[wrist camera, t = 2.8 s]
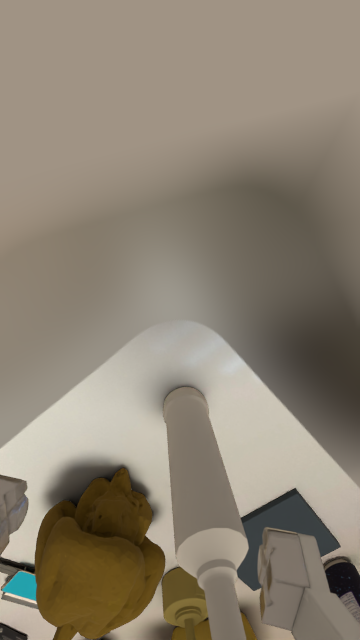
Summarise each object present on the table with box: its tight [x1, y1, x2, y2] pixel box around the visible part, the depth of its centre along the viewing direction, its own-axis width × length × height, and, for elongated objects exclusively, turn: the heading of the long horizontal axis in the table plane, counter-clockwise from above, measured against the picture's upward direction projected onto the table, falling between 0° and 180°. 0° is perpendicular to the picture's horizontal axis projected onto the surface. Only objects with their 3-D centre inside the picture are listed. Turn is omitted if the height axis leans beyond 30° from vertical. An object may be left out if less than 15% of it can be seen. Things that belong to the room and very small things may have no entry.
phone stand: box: [0, 558, 38, 609], centre depth 47 cm, size 20×12×2 cm, turn 50°
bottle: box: [163, 387, 249, 640], centre depth 26 cm, size 5×5×25 cm
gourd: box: [35, 468, 165, 640], centre depth 36 cm, size 14×14×14 cm
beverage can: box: [324, 559, 360, 624], centre depth 49 cm, size 6×6×12 cm
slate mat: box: [236, 489, 341, 591], centre depth 49 cm, size 16×16×1 cm
